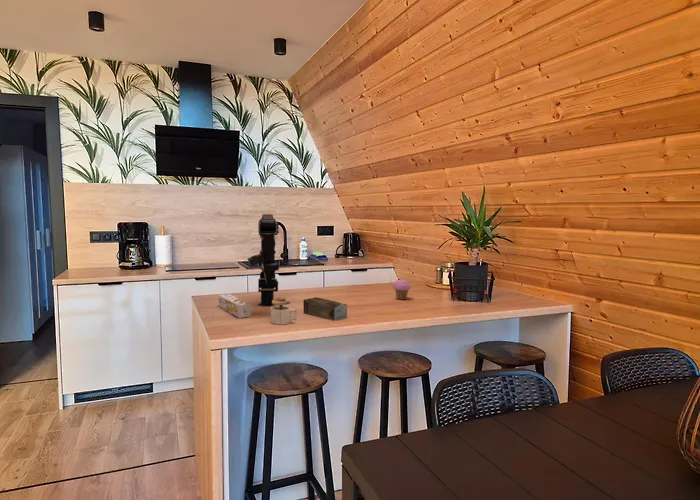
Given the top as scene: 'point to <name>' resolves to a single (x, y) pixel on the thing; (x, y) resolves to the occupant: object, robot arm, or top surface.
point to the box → (234, 306)
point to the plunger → (281, 302)
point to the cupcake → (401, 288)
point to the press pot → (282, 315)
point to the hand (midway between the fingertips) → (268, 284)
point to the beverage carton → (325, 308)
